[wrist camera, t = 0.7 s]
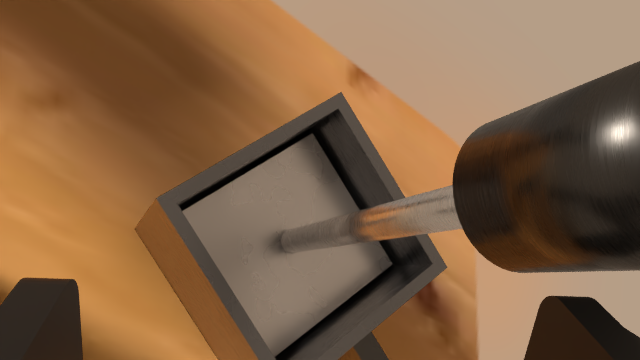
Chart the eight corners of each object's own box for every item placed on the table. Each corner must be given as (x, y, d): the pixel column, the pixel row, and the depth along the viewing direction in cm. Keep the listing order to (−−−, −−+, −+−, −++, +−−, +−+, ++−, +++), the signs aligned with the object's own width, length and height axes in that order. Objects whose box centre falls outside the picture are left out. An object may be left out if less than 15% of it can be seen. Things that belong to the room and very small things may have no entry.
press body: (134, 228, 35) (156, 198, 22) (261, 154, 39) (341, 92, 26) (242, 397, 35) (323, 462, 23) (355, 306, 40) (478, 318, 27)
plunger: (174, 216, 26) (396, 28, 7) (307, 136, 29) (710, -142, 10) (264, 358, 26) (716, 566, 7) (385, 264, 30) (915, 233, 11)
